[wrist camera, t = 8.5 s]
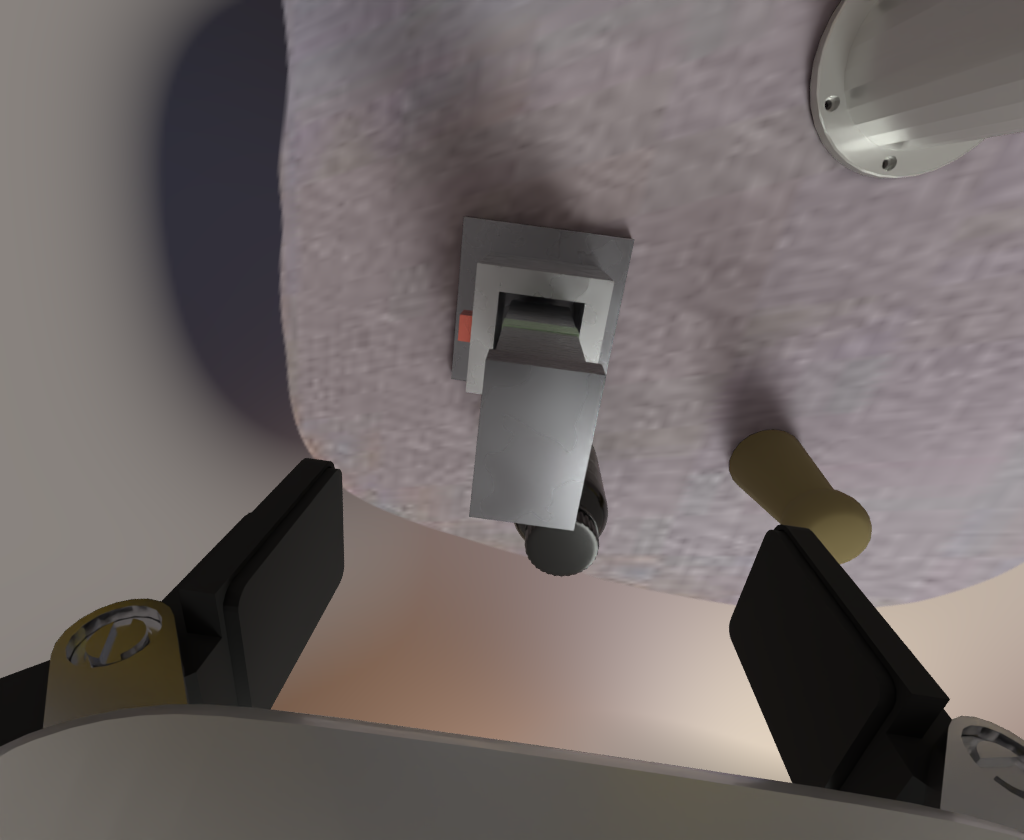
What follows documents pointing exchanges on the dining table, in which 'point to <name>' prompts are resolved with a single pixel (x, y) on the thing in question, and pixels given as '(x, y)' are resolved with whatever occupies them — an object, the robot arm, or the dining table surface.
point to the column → (535, 420)
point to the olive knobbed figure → (799, 492)
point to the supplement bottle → (567, 547)
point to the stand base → (535, 286)
